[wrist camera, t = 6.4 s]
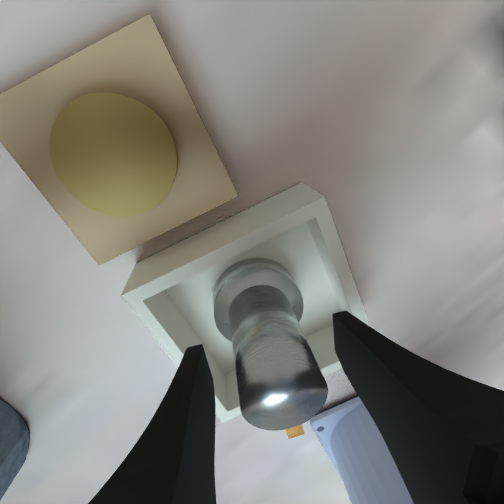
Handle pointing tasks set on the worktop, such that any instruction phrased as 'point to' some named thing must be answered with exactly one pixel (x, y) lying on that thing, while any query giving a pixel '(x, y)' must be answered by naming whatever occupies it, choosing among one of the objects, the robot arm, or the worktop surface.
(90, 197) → the stud block
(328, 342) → the tray
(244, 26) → the worktop surface
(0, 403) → the moka pot
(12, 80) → the worktop surface
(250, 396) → the coffee tamper
